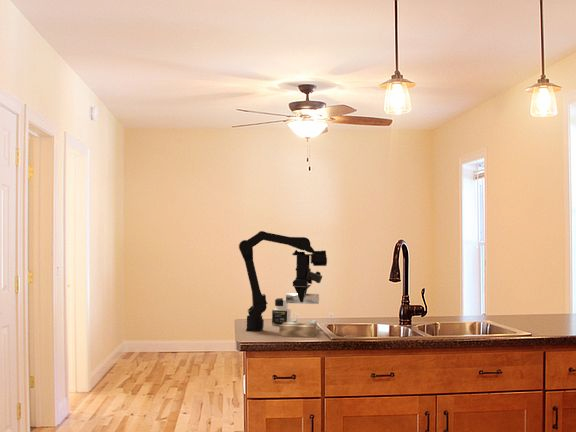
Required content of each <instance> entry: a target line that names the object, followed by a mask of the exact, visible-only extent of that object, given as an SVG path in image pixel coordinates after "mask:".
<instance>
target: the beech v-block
mask: <svg viewBox="0 0 576 432" xmlns="http://www.w3.org/2000/svg"><path fill="white" fill-rule="evenodd" d="M278 326H279V331H278V335H279V336H282V337H305V338H306V337H310V338H311V337H312V338H313V337H314V336H315V335H316V334H317V331H316V323H309V322H307V323H306V322H297V323H287V322H284V323H282V325H278Z"/></svg>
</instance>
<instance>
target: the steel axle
mask: <svg viewBox="0 0 576 432" xmlns="http://www.w3.org/2000/svg"><path fill="white" fill-rule="evenodd" d="M285 299H286V303H288V304H305V305H307V304H309V305H319V303H320V294H319V293H306V294H304V300H303V302H300V300H299V297H298V295H297V292H295V293H294V292H286V294H285Z"/></svg>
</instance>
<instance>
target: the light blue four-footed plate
mask: <svg viewBox="0 0 576 432" xmlns="http://www.w3.org/2000/svg"><path fill="white" fill-rule="evenodd" d="M297 320H298V319H290V322H287V323H298V322H297ZM308 323H316V332H317V331H318V330H319V327H317V325H318V322H317V320H314V319H313V320H311V319H310V321H309V322H308Z"/></svg>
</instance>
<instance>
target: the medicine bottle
mask: <svg viewBox="0 0 576 432" xmlns="http://www.w3.org/2000/svg"><path fill="white" fill-rule="evenodd" d="M274 307H275V308H273V309H272V310H271V316H272V317H271V325H272V326H280V325H282V323H284V322H290V320H291V310H292V309H291V308H290V307H289V303H286V297H281V298H280V297H279V298H276V299H274Z"/></svg>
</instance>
